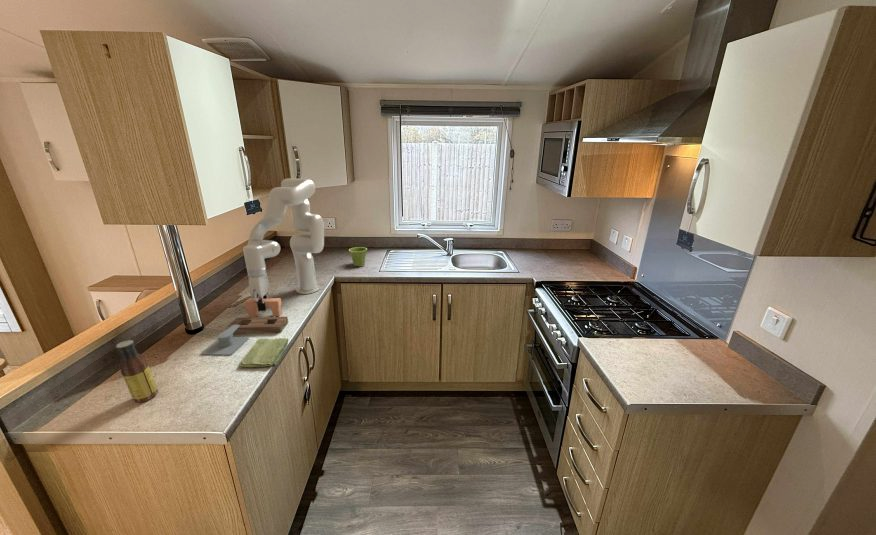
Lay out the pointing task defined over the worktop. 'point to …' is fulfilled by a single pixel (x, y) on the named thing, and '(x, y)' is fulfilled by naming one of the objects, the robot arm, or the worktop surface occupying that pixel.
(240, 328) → the slotted rail
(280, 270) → the worktop surface
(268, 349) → the washcloth
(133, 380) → the sauce bottle
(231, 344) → the shower valve
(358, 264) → the plant pot
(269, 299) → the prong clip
